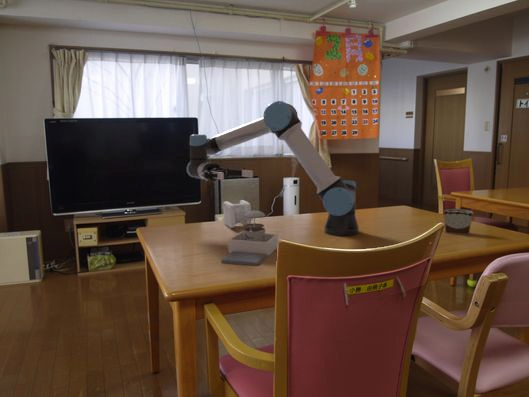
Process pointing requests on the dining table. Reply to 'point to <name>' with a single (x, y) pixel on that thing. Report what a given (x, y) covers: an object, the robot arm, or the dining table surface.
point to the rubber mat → (244, 258)
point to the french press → (254, 225)
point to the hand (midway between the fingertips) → (237, 175)
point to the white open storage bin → (253, 244)
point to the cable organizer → (236, 213)
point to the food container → (458, 221)
